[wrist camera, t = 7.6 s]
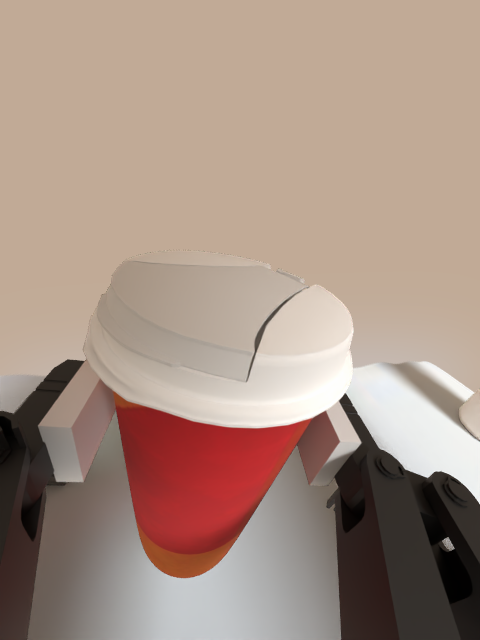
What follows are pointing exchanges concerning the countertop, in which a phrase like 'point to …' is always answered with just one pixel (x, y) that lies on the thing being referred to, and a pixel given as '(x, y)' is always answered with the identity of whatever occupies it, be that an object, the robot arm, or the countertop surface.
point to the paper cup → (212, 389)
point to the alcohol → (471, 414)
